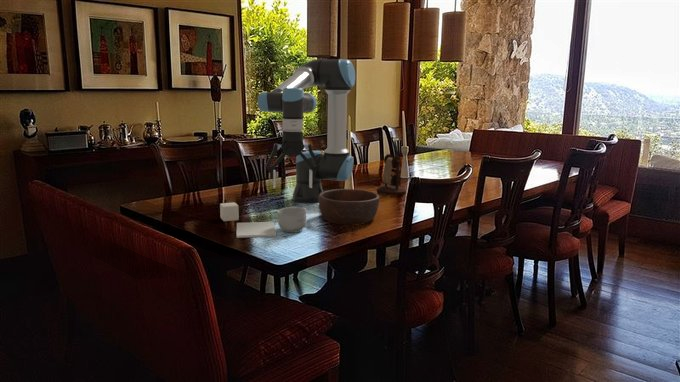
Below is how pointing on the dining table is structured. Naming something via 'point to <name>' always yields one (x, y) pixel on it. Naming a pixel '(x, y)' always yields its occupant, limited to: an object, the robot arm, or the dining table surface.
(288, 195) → the dining table surface
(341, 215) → the wooden bowl
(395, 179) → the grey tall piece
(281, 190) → the dining table surface
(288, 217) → the teacup
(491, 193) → the dining table surface
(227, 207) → the cream block
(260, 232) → the mat
